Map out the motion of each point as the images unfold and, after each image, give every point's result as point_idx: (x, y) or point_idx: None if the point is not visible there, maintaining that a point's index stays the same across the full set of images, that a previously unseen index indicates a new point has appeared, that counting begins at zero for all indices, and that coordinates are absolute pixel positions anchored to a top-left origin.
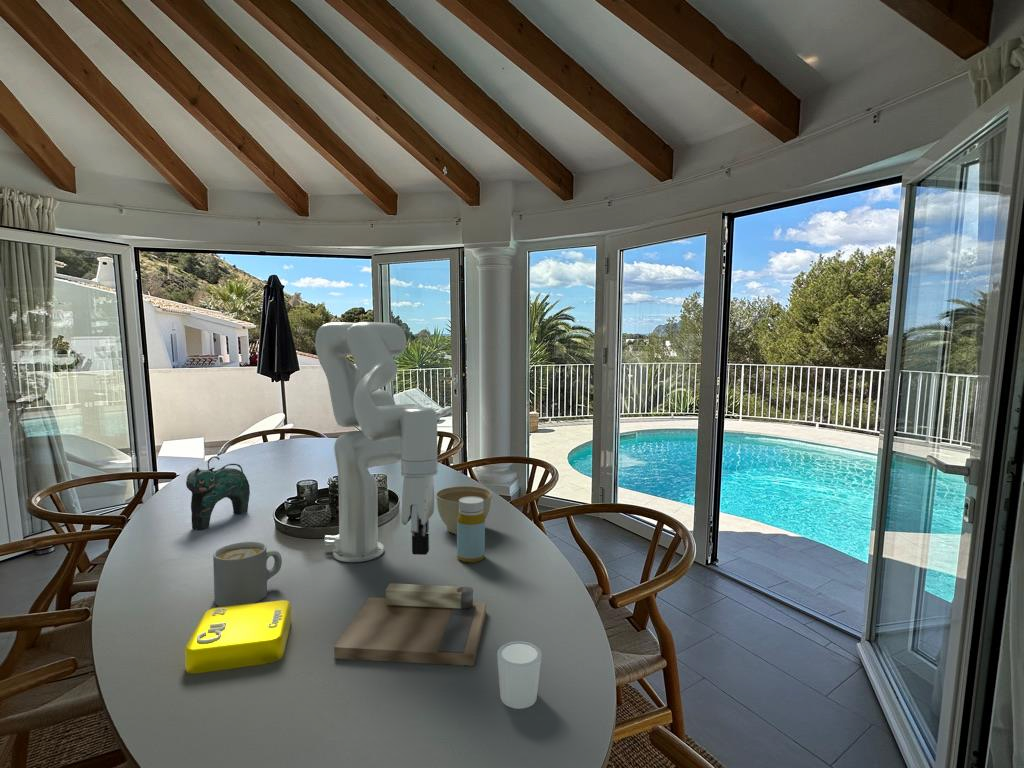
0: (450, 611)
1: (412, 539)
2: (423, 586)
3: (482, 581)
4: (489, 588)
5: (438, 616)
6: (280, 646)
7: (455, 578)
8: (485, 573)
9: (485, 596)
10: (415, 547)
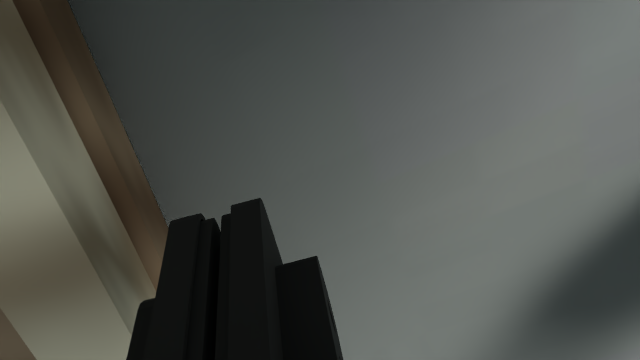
0: None
1: (148, 351)
2: (64, 268)
3: (527, 279)
4: (459, 327)
5: (8, 326)
6: None
7: (546, 152)
8: (620, 260)
9: (377, 340)
10: (135, 330)
